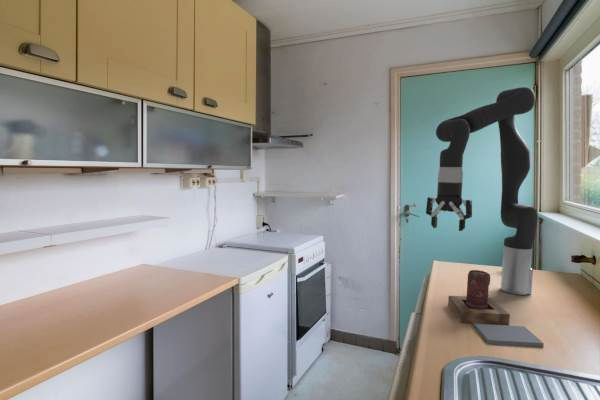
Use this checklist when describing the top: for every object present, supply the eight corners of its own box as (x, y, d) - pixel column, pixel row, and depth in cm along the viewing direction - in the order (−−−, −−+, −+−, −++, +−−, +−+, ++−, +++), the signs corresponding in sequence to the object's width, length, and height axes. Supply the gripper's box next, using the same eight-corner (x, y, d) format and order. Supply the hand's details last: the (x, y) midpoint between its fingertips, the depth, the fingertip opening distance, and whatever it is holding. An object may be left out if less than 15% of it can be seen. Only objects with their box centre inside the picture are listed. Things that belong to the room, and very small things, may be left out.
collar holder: (489, 307, 121) (490, 297, 121) (508, 325, 108) (509, 314, 107) (448, 305, 123) (448, 295, 122) (461, 323, 109) (462, 311, 109)
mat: (524, 329, 105) (524, 326, 105) (543, 346, 95) (543, 343, 95) (474, 326, 107) (474, 323, 107) (487, 343, 97) (488, 339, 97)
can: (490, 319, 112) (493, 275, 110) (468, 317, 113) (471, 274, 111) (484, 312, 118) (487, 270, 116) (463, 310, 119) (466, 268, 117)
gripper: (476, 181, 118) (473, 230, 120) (432, 179, 127) (430, 225, 129) (469, 182, 112) (466, 233, 114) (424, 180, 121) (422, 228, 123)
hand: (447, 229), depth 121 cm, fingers open, 8 cm apart
